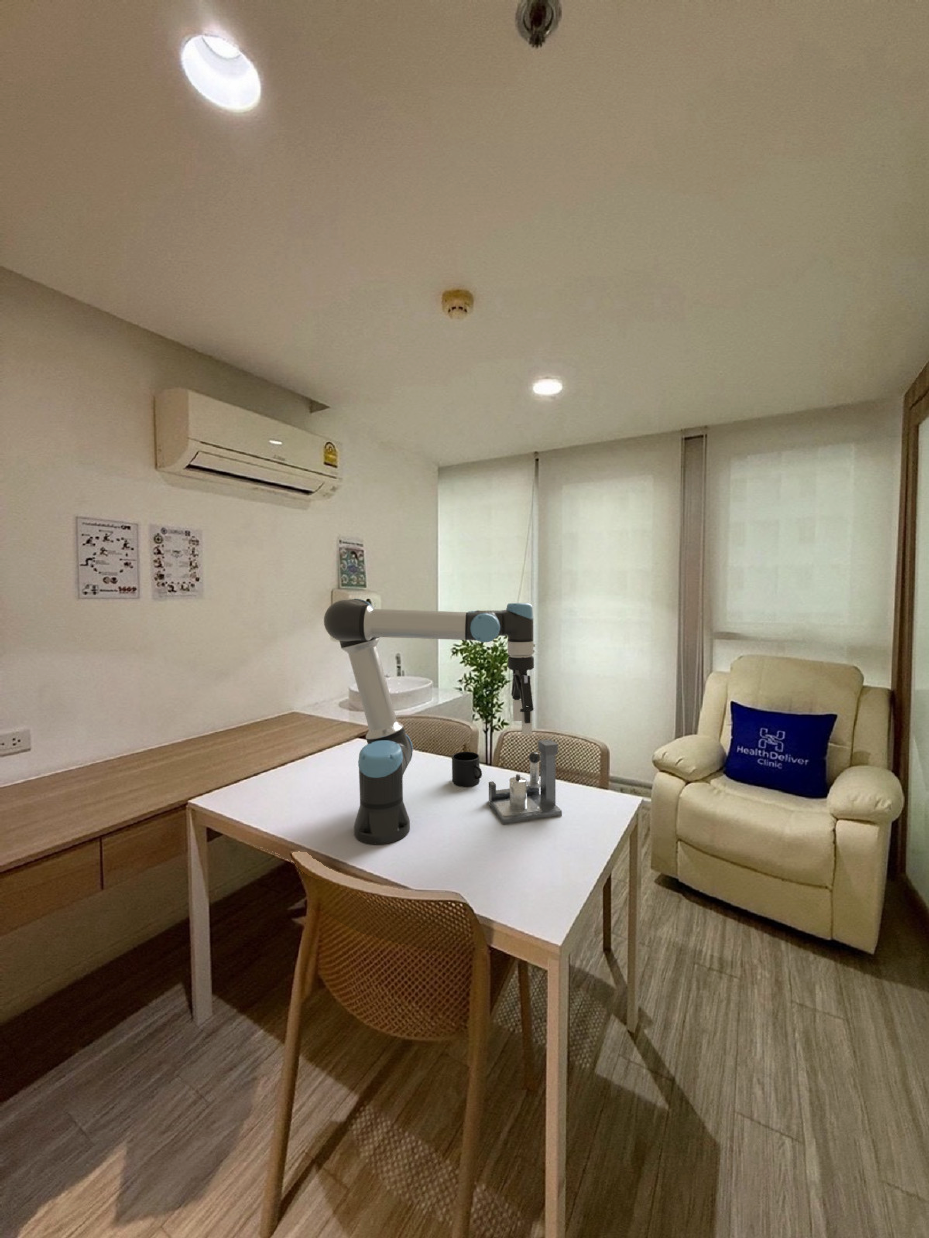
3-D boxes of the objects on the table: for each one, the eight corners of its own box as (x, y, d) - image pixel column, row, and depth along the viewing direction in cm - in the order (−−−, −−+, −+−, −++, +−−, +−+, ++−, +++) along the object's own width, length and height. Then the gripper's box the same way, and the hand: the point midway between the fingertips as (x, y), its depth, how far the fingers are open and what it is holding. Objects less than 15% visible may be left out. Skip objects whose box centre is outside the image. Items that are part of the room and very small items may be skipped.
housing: (513, 811, 139) (513, 779, 138) (507, 803, 144) (507, 772, 143) (529, 808, 140) (529, 777, 140) (522, 801, 145) (522, 770, 145)
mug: (472, 792, 157) (471, 765, 156) (446, 782, 165) (446, 756, 164) (491, 783, 163) (490, 757, 163) (465, 774, 172) (465, 749, 171)
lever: (531, 788, 151) (531, 754, 150) (526, 784, 154) (526, 750, 153) (542, 787, 152) (542, 753, 151) (538, 782, 155) (537, 749, 154)
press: (503, 824, 135) (503, 754, 133) (485, 801, 150) (485, 738, 149) (563, 815, 140) (563, 747, 139) (540, 793, 155) (539, 732, 154)
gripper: (543, 661, 129) (544, 739, 130) (524, 649, 153) (526, 715, 155) (515, 662, 128) (517, 740, 129) (501, 650, 153) (502, 716, 154)
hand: (522, 727), depth 142 cm, fingers open, 13 cm apart
